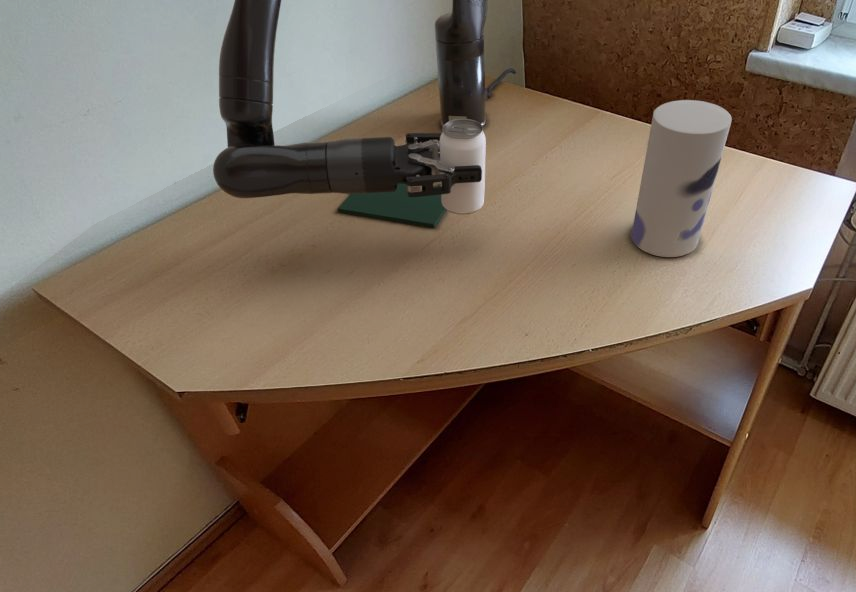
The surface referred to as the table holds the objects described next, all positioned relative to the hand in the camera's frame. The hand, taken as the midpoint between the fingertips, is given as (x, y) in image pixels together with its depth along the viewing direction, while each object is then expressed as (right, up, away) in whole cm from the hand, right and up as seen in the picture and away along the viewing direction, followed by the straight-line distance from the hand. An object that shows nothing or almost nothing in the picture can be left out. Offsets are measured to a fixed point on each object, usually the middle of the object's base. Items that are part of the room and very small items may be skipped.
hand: (478, 160), depth 88 cm
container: (+29, -10, +8) cm, 32 cm away
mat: (-12, +1, +22) cm, 25 cm away
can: (-2, -5, +5) cm, 8 cm away
